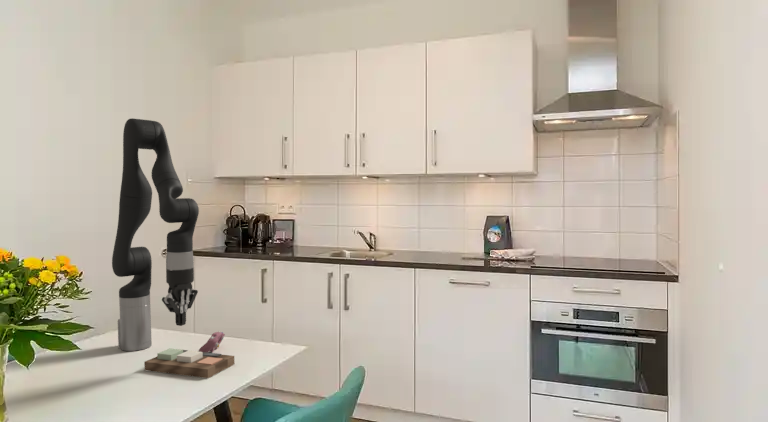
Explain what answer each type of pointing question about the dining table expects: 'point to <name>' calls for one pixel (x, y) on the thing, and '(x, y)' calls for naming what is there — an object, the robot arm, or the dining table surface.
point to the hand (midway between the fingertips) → (180, 324)
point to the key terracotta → (209, 361)
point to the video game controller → (212, 342)
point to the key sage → (169, 354)
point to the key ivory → (189, 356)
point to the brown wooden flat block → (190, 366)
